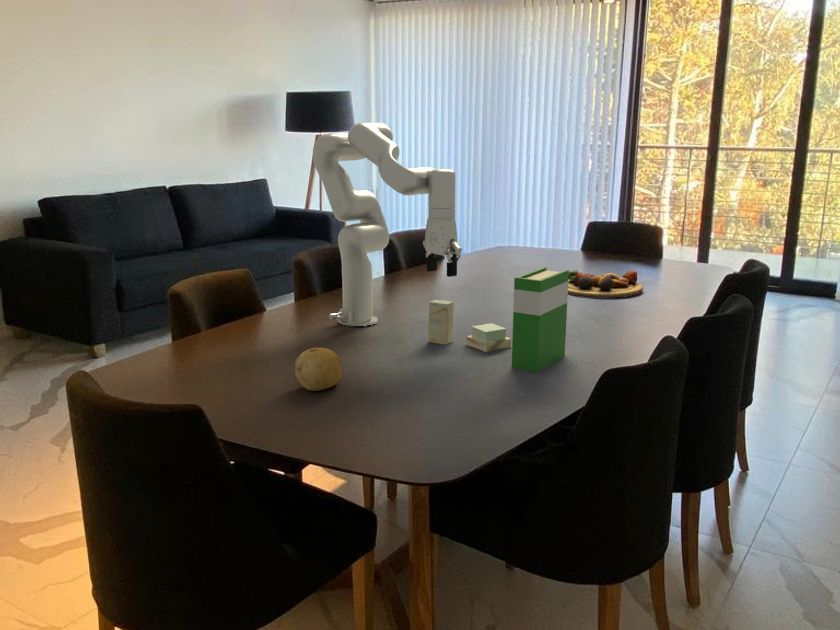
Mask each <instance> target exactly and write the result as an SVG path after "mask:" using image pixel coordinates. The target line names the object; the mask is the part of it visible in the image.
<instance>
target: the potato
mask: <svg viewBox="0 0 840 630" xmlns="http://www.w3.org/2000/svg"><path fill="white" fill-rule="evenodd" d="M340 364H341V360H340V357H339V355H338V354H337V353H336V352H334V351H333V350H331V349H329V348H326V347H312V348H308V349H307V350H304V351H302V352H301V353H300V354H299V355H298V356H297V358H296V360H295V364H294V366H295V367H294V373H295V378H296V379H297V381H298V382H299V384H300V385H301V386H302V387H303V388H304V389H306V390H308V391H313V392H317V391H318V392H319V391H322V390H326V389H330V388H332V387H333V386H335V385H336V384H337V383H338V382H340V380H341V378H342V373H341V365H340Z"/></svg>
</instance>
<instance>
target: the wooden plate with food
mask: <svg viewBox="0 0 840 630" xmlns="http://www.w3.org/2000/svg"><path fill="white" fill-rule="evenodd" d="M643 290H644V287H643V285H642V284H640V283H639V282H638V272H637V271H636V270H630V271H629V270H628V271H627V272H626V273H624V274H623V275H622V277H621V276H618V275H617V274H615V273H612V272H611V273H610V272H608V273H603V274H601V275H597V274H589V273H583V272H579V271H578V270H572V271H569V278H568V295H569V294H571V295H570V296H573V295H576V296H575V297H579V296H584V297H583V298H587V297H600V298H599V299H605V298H604V297H608V298H607V299H611V298H610V297H622V298H626V297H625V296H630V297H633V296H632V295H634V296H637V295H639V294H641V293H642V292H643ZM636 294H637V295H636ZM601 297H602V298H601Z"/></svg>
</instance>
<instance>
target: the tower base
mask: <svg viewBox="0 0 840 630" xmlns="http://www.w3.org/2000/svg"><path fill="white" fill-rule="evenodd" d="M511 344H512V338H511V337H508V336H506V339H502V340H496V341H490V342H484V341H481V340H479V339H477V338H474V337H472V334H471V335H467V336H466V345H467V346H469V347H471V348H475V349H476V350H477V349H478V351H481V352H484V353H487V352H494V351H498V350H504V349H509V348H512V345H511Z"/></svg>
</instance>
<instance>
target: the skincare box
mask: <svg viewBox="0 0 840 630" xmlns="http://www.w3.org/2000/svg"><path fill="white" fill-rule="evenodd" d="M454 304H455V302H454V301H450V300H442V299H435V298H434V299H433V300H430V301H429V304H428V305H429V306H428V307H429V308H428V335H427V337H428V339H427V340H428V342H429V343H434V344H440V345H448V344H449V345H450V343H452V342H453V338H454V336H453V335H454V333H453V332H454V312H455V311H454V310H455V309H454V306H455V305H454Z"/></svg>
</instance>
